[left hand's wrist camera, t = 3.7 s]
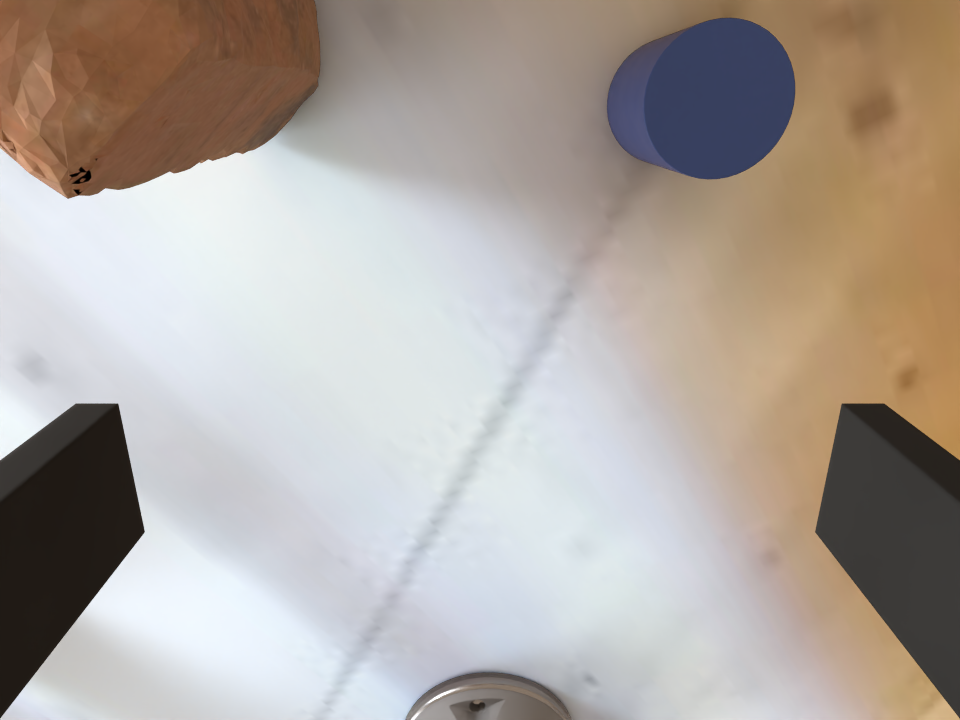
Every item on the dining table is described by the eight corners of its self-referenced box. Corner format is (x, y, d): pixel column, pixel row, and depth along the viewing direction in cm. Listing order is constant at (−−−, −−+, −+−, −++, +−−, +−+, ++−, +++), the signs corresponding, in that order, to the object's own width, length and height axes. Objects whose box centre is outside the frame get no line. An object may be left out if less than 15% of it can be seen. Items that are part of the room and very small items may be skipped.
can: (622, 28, 41) (664, 4, 32) (739, 49, 41) (816, 32, 32) (595, 153, 43) (627, 166, 34) (706, 172, 44) (768, 190, 34)
